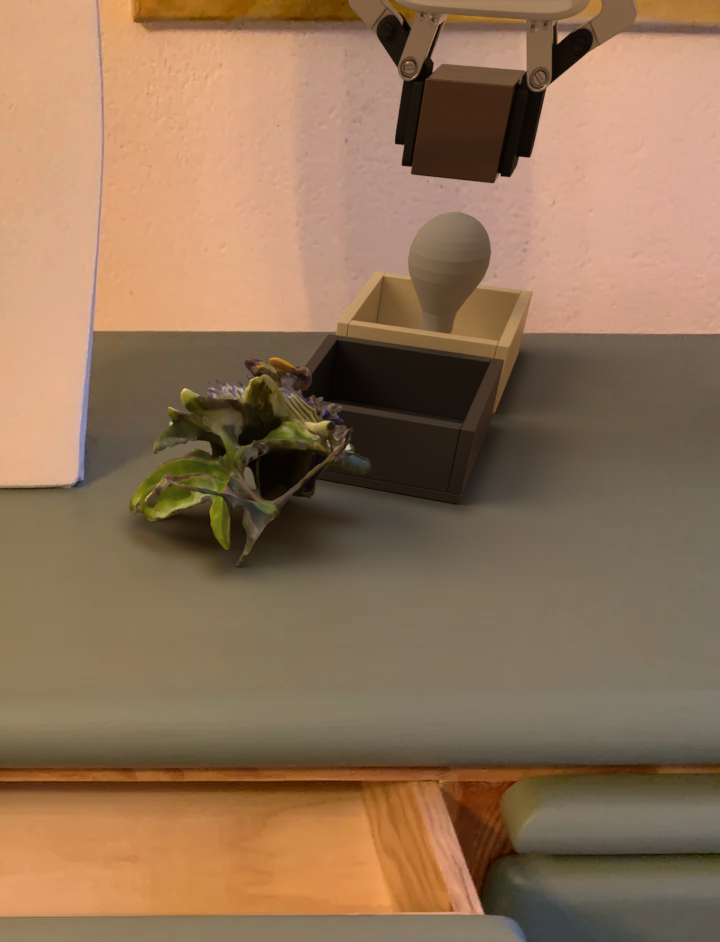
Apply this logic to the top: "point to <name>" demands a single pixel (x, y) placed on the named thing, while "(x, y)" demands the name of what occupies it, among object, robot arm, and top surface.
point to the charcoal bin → (407, 412)
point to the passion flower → (248, 450)
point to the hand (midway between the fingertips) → (460, 162)
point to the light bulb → (447, 266)
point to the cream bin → (474, 332)
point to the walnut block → (464, 122)
